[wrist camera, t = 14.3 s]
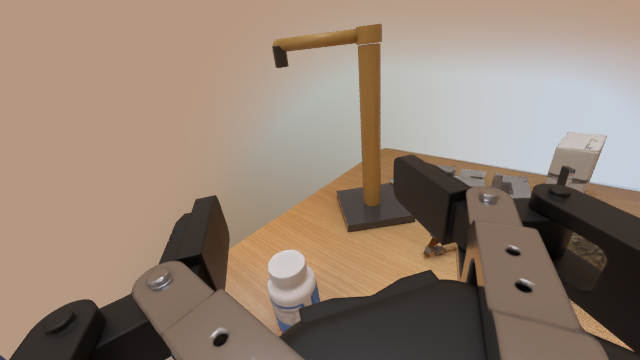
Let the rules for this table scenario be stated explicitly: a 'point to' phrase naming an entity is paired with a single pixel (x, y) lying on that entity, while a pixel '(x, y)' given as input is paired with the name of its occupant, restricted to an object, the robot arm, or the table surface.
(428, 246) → the brown grey jointed piece
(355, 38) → the spout
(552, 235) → the robot arm
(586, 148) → the ink box
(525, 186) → the architectural model
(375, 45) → the stand pole
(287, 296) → the pill bottle
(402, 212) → the pole stand
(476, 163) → the table surface
